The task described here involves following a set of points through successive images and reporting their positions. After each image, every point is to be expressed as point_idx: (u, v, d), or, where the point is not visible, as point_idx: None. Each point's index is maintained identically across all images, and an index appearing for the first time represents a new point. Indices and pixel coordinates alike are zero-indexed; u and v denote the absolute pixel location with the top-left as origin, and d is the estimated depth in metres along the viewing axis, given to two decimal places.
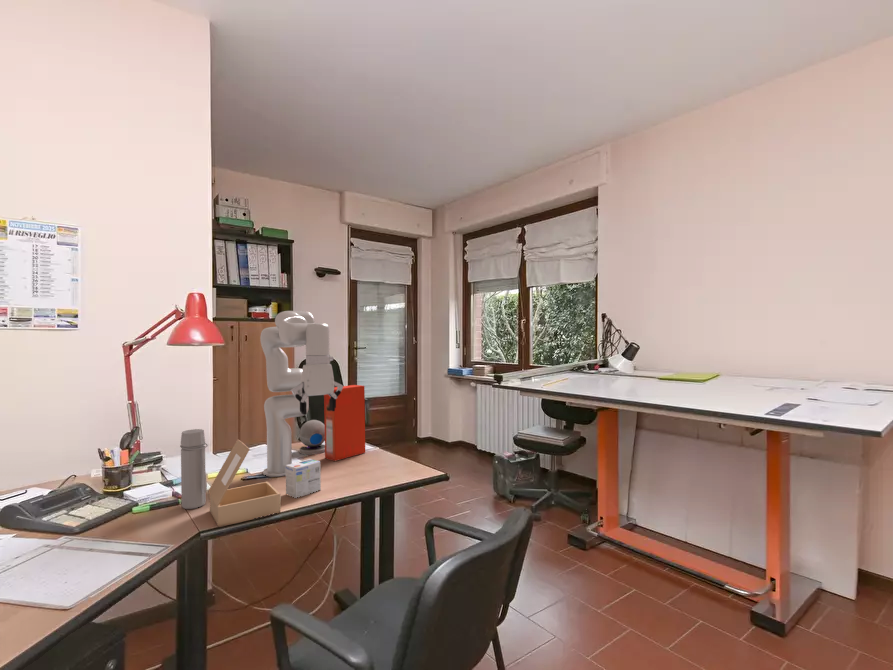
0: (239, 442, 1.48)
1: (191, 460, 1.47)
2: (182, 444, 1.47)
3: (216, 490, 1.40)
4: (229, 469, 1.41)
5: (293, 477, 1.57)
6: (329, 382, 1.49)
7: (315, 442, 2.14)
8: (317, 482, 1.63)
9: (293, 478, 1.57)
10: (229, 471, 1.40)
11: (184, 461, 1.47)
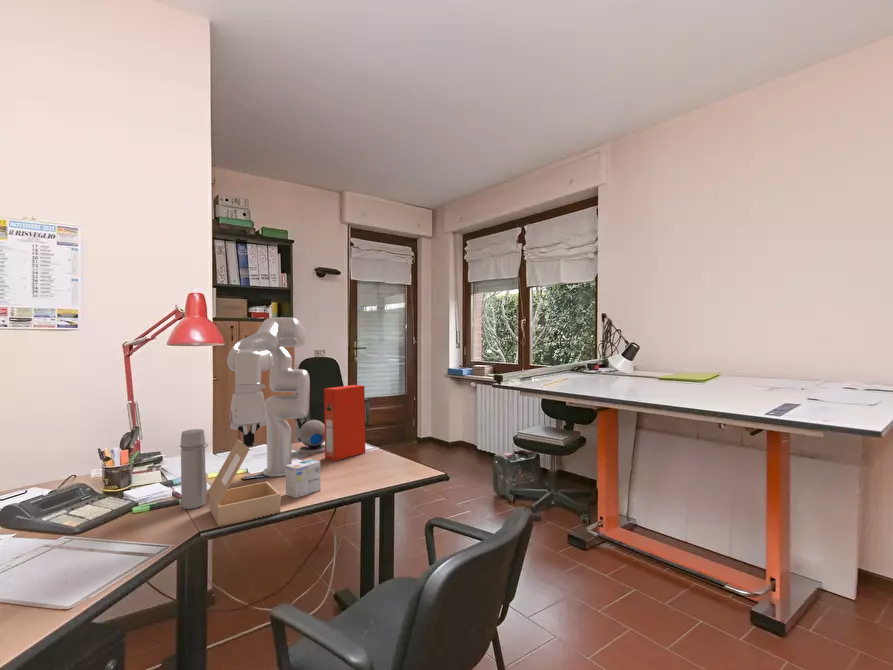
0: (239, 442, 1.48)
1: (191, 460, 1.47)
2: (182, 444, 1.47)
3: (216, 490, 1.40)
4: (229, 469, 1.41)
5: (293, 477, 1.57)
6: (260, 411, 1.46)
7: (315, 442, 2.14)
8: (317, 482, 1.63)
9: (293, 478, 1.57)
10: (229, 471, 1.40)
11: (184, 461, 1.47)
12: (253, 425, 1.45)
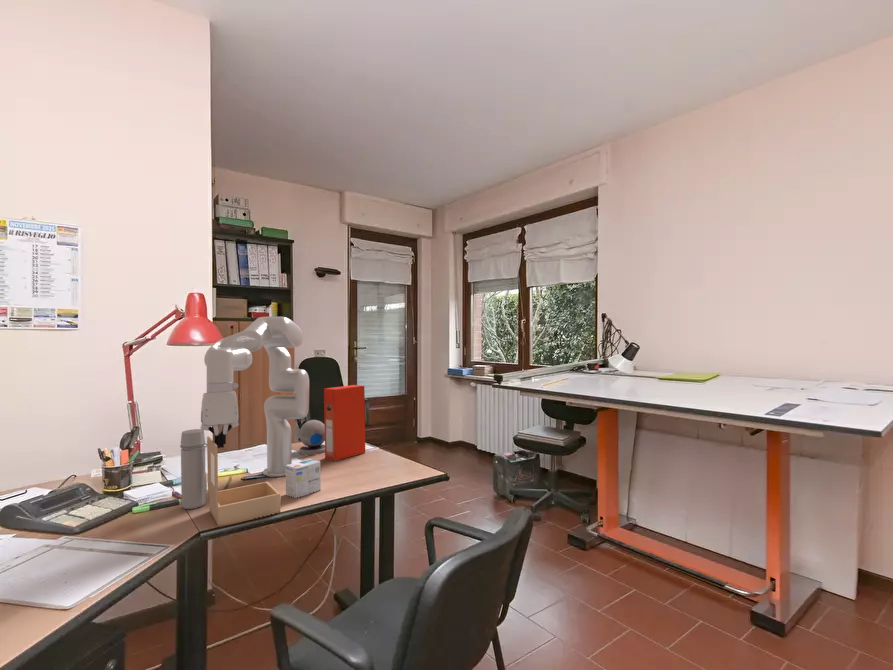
0: (209, 440, 1.42)
1: (191, 460, 1.47)
2: (182, 444, 1.47)
3: (211, 491, 1.40)
4: (211, 469, 1.38)
5: (293, 477, 1.57)
6: (232, 411, 1.41)
7: (315, 442, 2.14)
8: (317, 482, 1.63)
9: (293, 478, 1.57)
10: (212, 471, 1.37)
11: (184, 460, 1.47)
12: (225, 426, 1.40)
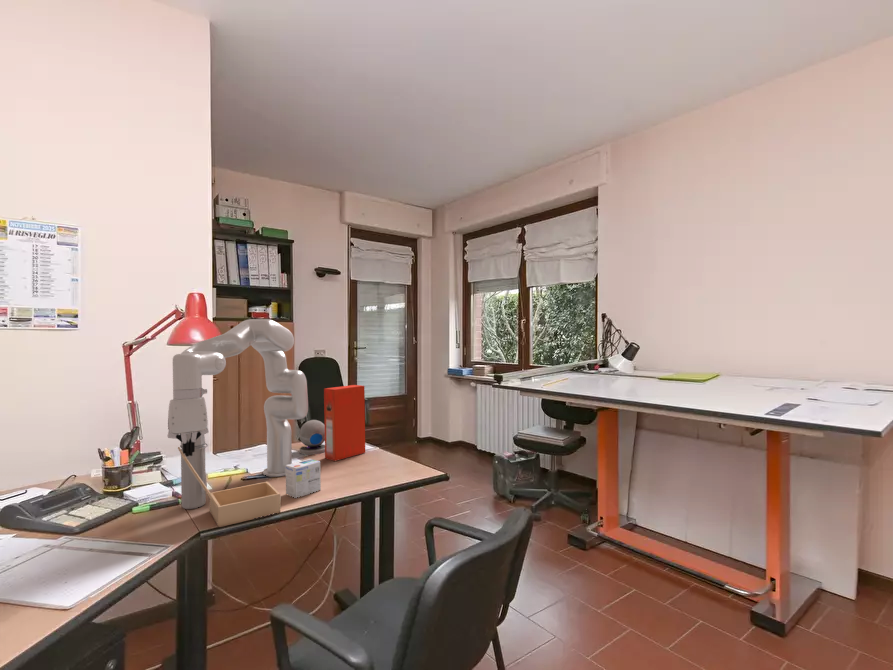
0: None
1: (191, 460, 1.47)
2: (182, 444, 1.47)
3: None
4: None
5: (293, 477, 1.57)
6: (200, 418, 1.36)
7: (315, 442, 2.14)
8: (317, 482, 1.63)
9: (293, 478, 1.57)
10: None
11: (184, 460, 1.47)
12: (193, 433, 1.35)
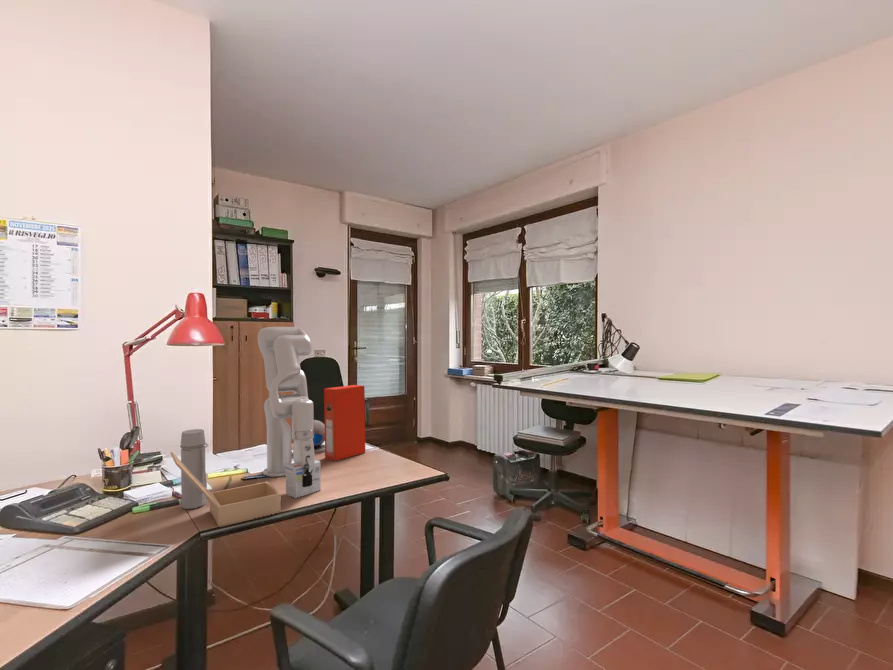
0: None
1: (191, 460, 1.47)
2: (182, 444, 1.47)
3: (207, 494, 1.39)
4: None
5: (293, 477, 1.57)
6: (299, 457, 1.59)
7: (315, 442, 2.14)
8: (317, 482, 1.63)
9: (293, 478, 1.57)
10: None
11: (184, 460, 1.47)
12: None
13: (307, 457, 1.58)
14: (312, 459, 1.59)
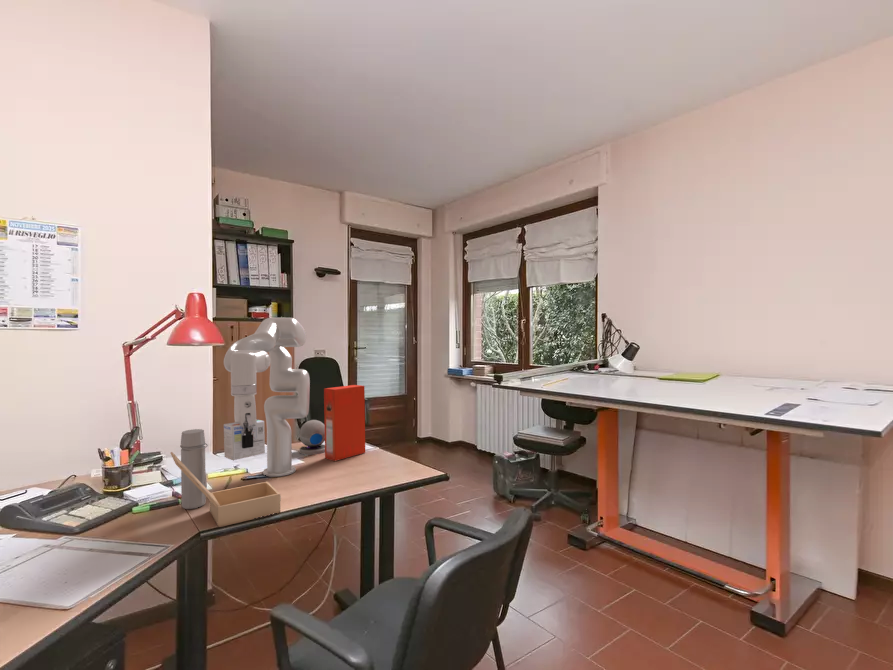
0: None
1: (191, 460, 1.47)
2: (182, 444, 1.47)
3: (207, 494, 1.39)
4: None
5: (231, 437, 1.40)
6: (238, 415, 1.41)
7: (315, 442, 2.14)
8: (260, 444, 1.46)
9: (231, 438, 1.40)
10: None
11: (184, 460, 1.47)
12: None
13: (247, 415, 1.41)
14: (253, 417, 1.42)
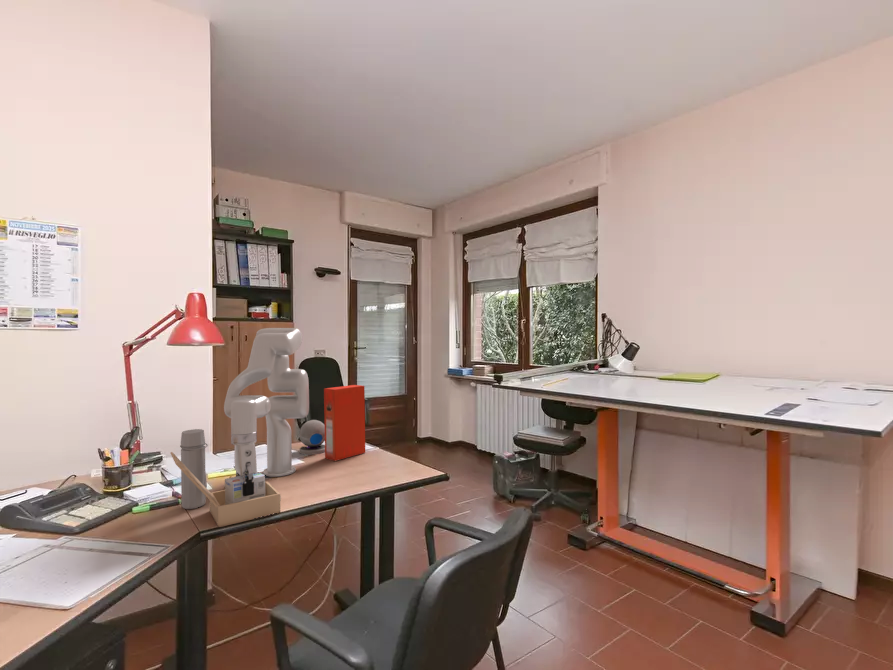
0: None
1: (191, 460, 1.47)
2: (182, 444, 1.47)
3: (207, 494, 1.39)
4: None
5: (230, 493, 1.40)
6: (238, 463, 1.41)
7: (315, 442, 2.14)
8: None
9: (230, 494, 1.40)
10: None
11: (184, 460, 1.47)
12: (243, 476, 1.41)
13: (247, 464, 1.41)
14: (253, 466, 1.42)
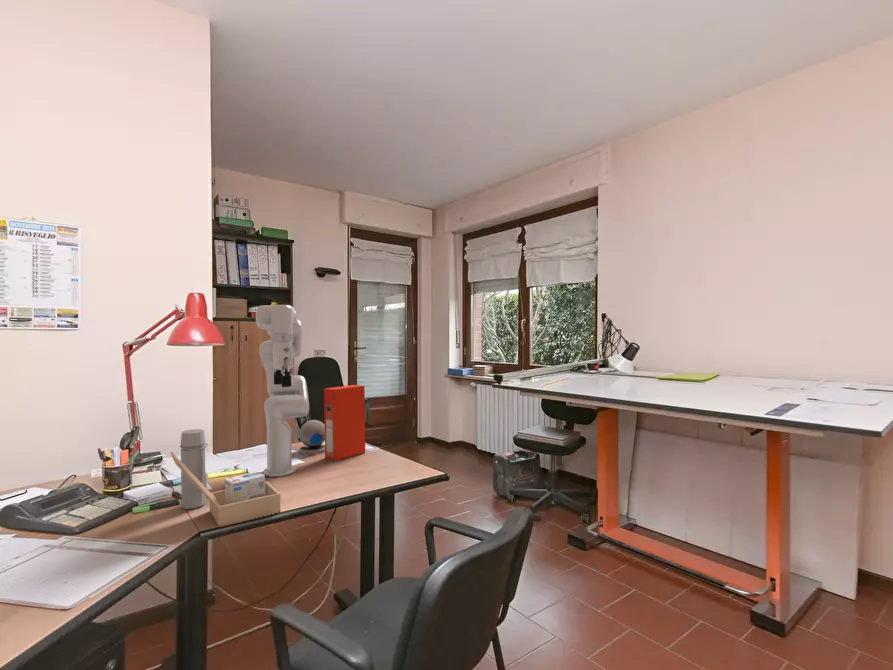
0: None
1: (191, 460, 1.47)
2: (182, 444, 1.47)
3: (207, 494, 1.39)
4: None
5: (230, 493, 1.40)
6: (278, 359, 1.61)
7: (315, 442, 2.14)
8: None
9: (230, 494, 1.40)
10: None
11: (184, 461, 1.47)
12: (281, 370, 1.61)
13: (285, 359, 1.61)
14: (291, 361, 1.62)
